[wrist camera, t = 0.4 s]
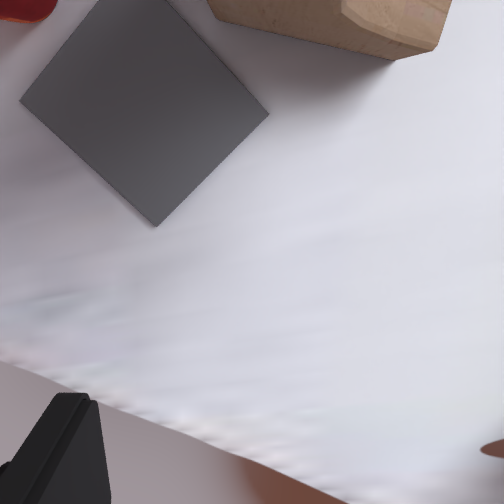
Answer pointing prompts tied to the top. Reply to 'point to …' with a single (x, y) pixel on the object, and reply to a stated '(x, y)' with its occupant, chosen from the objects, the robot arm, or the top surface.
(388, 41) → the decorative block
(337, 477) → the top surface
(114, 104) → the mat
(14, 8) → the paper cup
